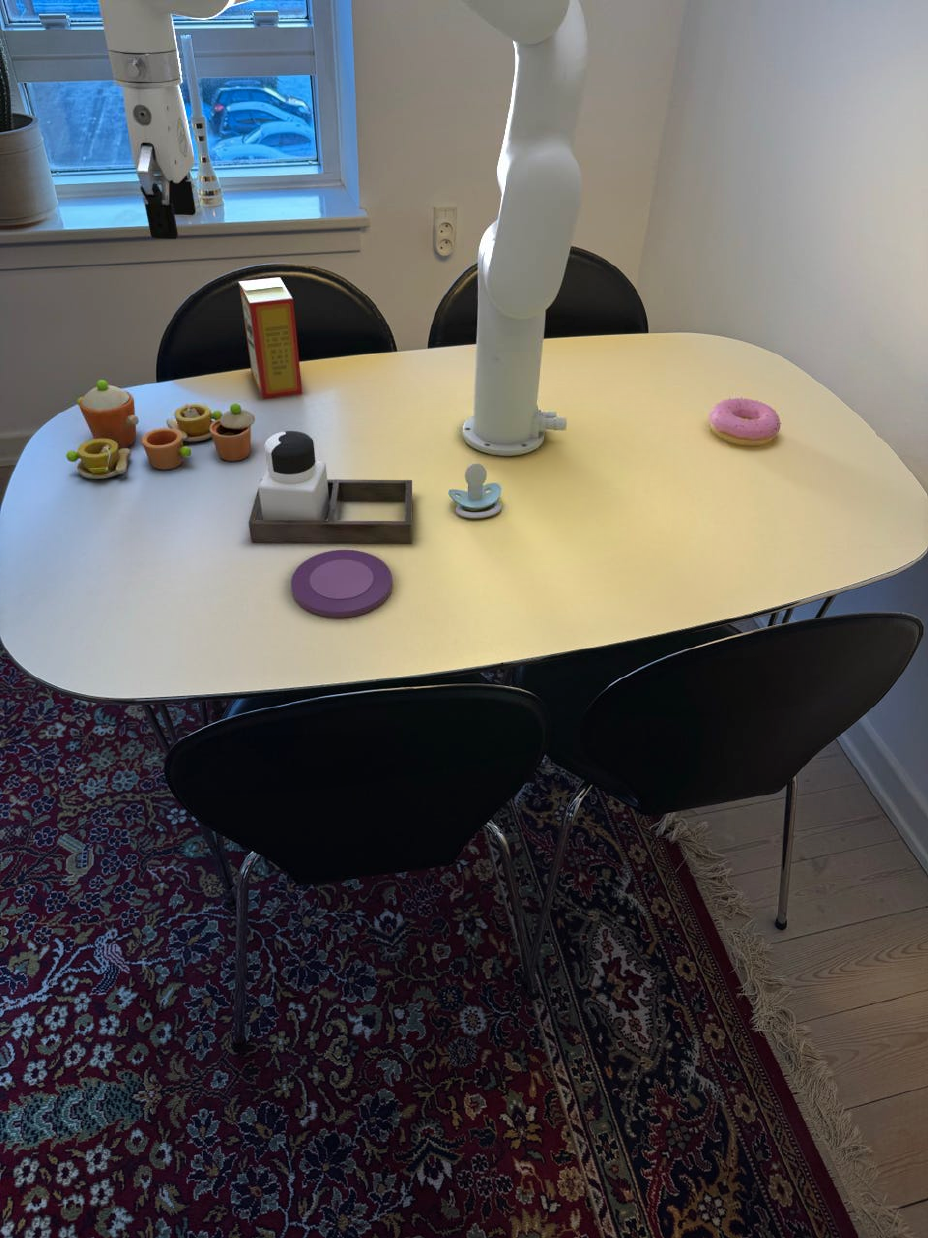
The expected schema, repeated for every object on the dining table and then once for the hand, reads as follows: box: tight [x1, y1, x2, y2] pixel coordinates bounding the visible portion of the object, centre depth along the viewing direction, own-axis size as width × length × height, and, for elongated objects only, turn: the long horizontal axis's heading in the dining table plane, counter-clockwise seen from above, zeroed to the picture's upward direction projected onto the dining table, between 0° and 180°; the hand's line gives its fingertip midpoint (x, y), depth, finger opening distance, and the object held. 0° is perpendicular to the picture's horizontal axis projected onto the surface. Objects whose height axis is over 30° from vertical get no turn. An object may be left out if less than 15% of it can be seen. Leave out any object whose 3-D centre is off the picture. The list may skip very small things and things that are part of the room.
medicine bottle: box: [257, 430, 330, 521], centre depth 109 cm, size 7×7×12 cm
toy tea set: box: [65, 379, 256, 480], centre depth 123 cm, size 26×16×10 cm, turn 106°
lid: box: [290, 549, 393, 619], centre depth 103 cm, size 12×12×1 cm
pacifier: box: [447, 462, 503, 519], centre depth 114 cm, size 7×6×6 cm
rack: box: [248, 478, 413, 544], centre depth 112 cm, size 20×11×3 cm, turn 92°
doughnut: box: [708, 396, 782, 447], centre depth 134 cm, size 11×11×4 cm
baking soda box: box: [238, 277, 303, 400], centre depth 138 cm, size 10×6×16 cm
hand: (174, 225), depth 109 cm, fingers open, 9 cm apart
